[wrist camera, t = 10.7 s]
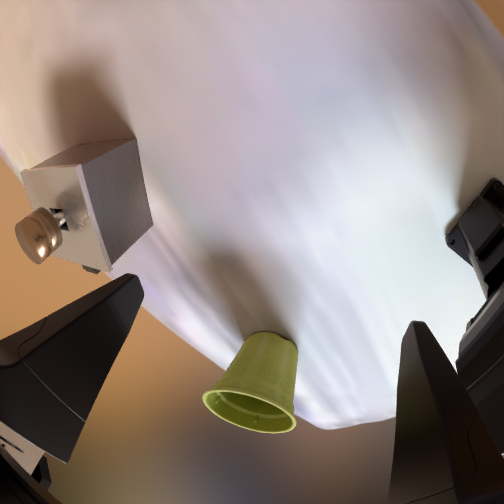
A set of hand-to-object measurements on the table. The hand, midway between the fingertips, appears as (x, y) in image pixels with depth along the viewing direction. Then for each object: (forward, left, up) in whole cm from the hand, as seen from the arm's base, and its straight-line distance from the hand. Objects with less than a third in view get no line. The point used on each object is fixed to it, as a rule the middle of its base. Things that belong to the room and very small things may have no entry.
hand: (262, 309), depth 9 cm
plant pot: (-6, +20, -13) cm, 25 cm away
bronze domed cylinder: (+16, +10, -12) cm, 22 cm away
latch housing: (+16, +10, -13) cm, 23 cm away
